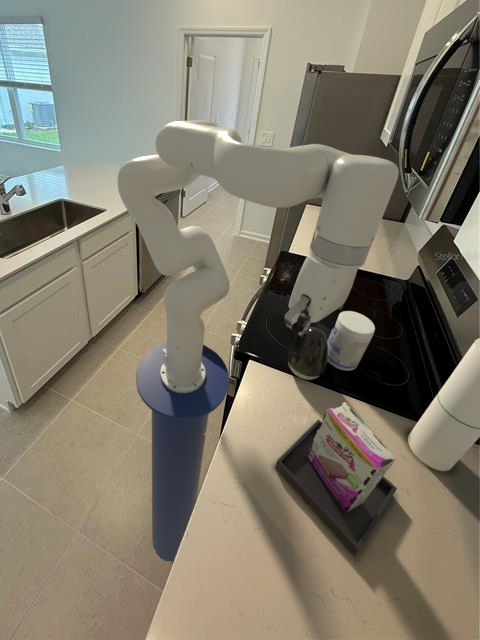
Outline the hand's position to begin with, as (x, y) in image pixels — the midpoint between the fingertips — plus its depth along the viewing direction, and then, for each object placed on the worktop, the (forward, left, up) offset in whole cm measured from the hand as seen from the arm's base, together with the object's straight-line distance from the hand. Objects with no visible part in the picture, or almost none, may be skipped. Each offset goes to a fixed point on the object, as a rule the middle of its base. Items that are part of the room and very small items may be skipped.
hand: (308, 335), depth 52 cm
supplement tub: (-4, +36, -32) cm, 49 cm away
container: (+22, +28, -32) cm, 48 cm away
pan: (+12, +4, -32) cm, 35 cm away
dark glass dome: (-8, +23, -32) cm, 41 cm away
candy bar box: (+12, +4, -32) cm, 34 cm away
